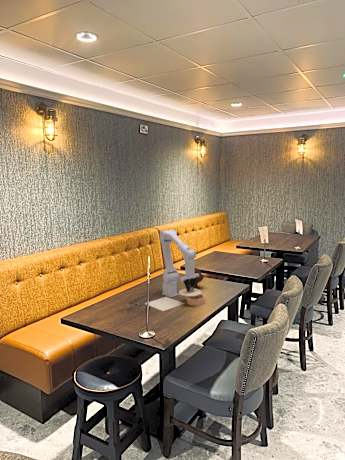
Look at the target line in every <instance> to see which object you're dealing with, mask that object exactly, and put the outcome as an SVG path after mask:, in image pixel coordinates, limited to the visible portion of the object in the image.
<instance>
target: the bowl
mask: <svg viewBox="0 0 345 460" xmlns="http://www.w3.org/2000/svg"><path fill="white" fill-rule="evenodd" d="M186 303H187V304H188V305H189V306H194V307H199V306H203V305H206V295H205V294H202V293H201V294H200V295H197V296H186Z"/></svg>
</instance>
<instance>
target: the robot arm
mask: <svg viewBox="0 0 345 460" xmlns="http://www.w3.org/2000/svg"><path fill="white" fill-rule="evenodd" d="M177 234H178V233H177V231H176V230H175V229H174V228H173V229H167V230H161V231H160V232H159V240H160V241H159V242H160V244H161V248H162V249H161V250H162V252H163V258H164V259H163V260H164V264H165V269H164V270H163V271H162V279H163V282H162V293H161V295H164V296H165V297H168V298H173V297H176V296H179V295H180V294H179V292H177V291H178V289H177V288H178V285H177V283H178V281H179V279H180V282H183V283H184V285H185V288H186V290H187V291H190V286H192V287H193V290H194V286H195V283H196V281H197V278H196V277H199V274H198V273H196V274H195V269H194V268H195V258H196V257H197V252H196V250H195V249H194V248H190V246H189V245H187V243H186V242H184V241H182V240H181V239H180V238H179V237H178V235H177ZM172 242H173V243H174V244H175V245H176V246H177V250H179V252H181V254H182V257H183V261H184V268H185V269H184V273H185V275H184V276H182V277H180V274H179V271H178V269H177V268H175V267H174V262H173V256H172V251H171V245H170V244H171V243H172Z"/></svg>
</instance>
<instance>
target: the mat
mask: <svg viewBox="0 0 345 460" xmlns="http://www.w3.org/2000/svg"><path fill="white" fill-rule="evenodd" d="M148 302H149V305H147V303H148ZM148 302H145V303H144V305H147V306H149V307H152V308H154V309H157V310H159V311H161V312H165V311H167V310H170V309H174V308H176V307H179V306H182V305H184V304H186V303H185V302H183V301H179V300H177V299H173V298H172V297H169V296H164V297H160V298H158V299H154V300H151V301H148Z"/></svg>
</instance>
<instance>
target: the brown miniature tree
mask: <svg viewBox="0 0 345 460" xmlns="http://www.w3.org/2000/svg"><path fill="white" fill-rule="evenodd" d="M194 269H195V274H196V273H198V274H199V277H196V278H197V281H196V283H195V286H194V288H195V289H199V290H201V287H200V286H198V283H201V282H202V281H203V280H204V277H205V275H204V274H203V273H202V271H201V270H200V269H198V268H197V267H194Z"/></svg>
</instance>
